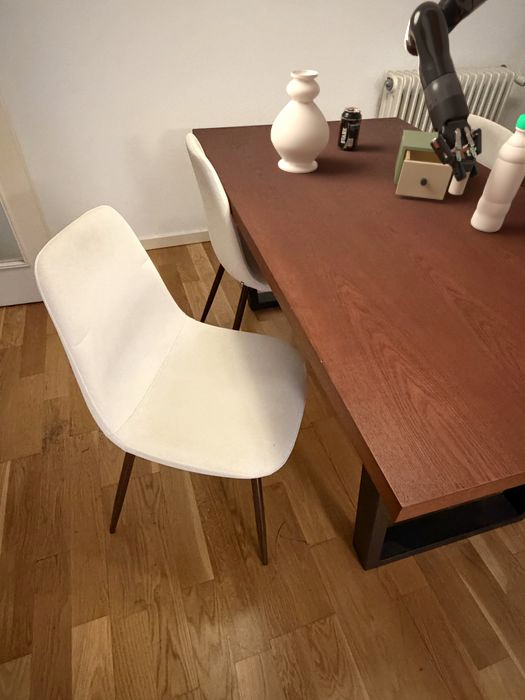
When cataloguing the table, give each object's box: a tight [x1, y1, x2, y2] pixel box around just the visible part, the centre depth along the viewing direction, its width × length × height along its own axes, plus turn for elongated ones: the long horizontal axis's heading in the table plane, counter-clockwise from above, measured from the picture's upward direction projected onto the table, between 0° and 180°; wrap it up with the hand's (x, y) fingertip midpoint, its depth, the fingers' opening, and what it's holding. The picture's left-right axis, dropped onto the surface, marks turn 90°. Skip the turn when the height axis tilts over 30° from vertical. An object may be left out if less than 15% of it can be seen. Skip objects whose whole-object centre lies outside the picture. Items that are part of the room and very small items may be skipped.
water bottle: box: [470, 113, 525, 233], centre depth 92 cm, size 7×7×25 cm
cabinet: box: [393, 129, 438, 186], centre depth 119 cm, size 15×14×11 cm
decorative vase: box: [270, 69, 330, 174], centre depth 120 cm, size 18×18×25 cm
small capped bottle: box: [448, 158, 474, 196], centre depth 92 cm, size 3×3×7 cm
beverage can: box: [336, 106, 363, 151], centre depth 136 cm, size 7×7×12 cm
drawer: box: [395, 150, 453, 201], centre depth 112 cm, size 15×13×9 cm
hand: (468, 177), depth 90 cm, fingers closed on small capped bottle, 3 cm apart
